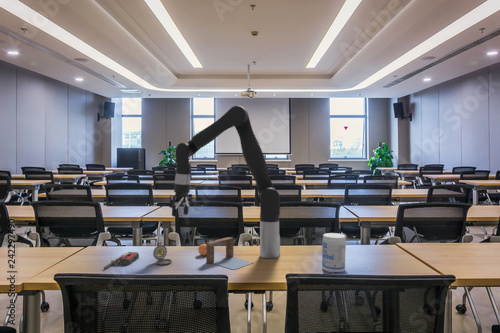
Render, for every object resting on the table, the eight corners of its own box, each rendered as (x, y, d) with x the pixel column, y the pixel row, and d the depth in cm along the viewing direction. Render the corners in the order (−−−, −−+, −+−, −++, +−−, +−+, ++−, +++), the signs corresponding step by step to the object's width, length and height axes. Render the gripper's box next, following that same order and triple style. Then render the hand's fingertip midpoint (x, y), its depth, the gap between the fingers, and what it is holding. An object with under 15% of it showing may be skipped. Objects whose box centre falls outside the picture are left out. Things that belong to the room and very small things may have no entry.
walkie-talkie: (122, 257, 163) (101, 271, 143) (122, 248, 163) (101, 260, 143) (140, 258, 162) (122, 271, 142) (140, 248, 162) (122, 261, 142)
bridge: (206, 262, 153) (206, 242, 153) (228, 255, 164) (228, 237, 164) (210, 264, 151) (210, 243, 151) (233, 257, 162) (233, 238, 162)
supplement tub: (318, 270, 143) (318, 235, 143) (328, 264, 150) (328, 231, 150) (339, 275, 137) (339, 238, 137) (349, 269, 144) (349, 234, 144)
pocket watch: (167, 265, 149) (167, 243, 149) (150, 264, 150) (150, 242, 150) (175, 260, 157) (175, 239, 157) (158, 259, 158) (158, 238, 158)
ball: (204, 253, 169) (204, 242, 169) (211, 255, 166) (211, 243, 166) (195, 255, 165) (195, 244, 165) (203, 257, 162) (203, 246, 161)
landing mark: (233, 257, 161) (233, 257, 161) (253, 263, 153) (253, 262, 153) (212, 263, 152) (212, 263, 152) (233, 270, 143) (233, 269, 143)
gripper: (178, 184, 160) (176, 218, 160) (197, 183, 172) (194, 215, 173) (166, 182, 164) (164, 215, 164) (185, 181, 176) (183, 212, 177)
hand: (180, 215), depth 168 cm, fingers open, 8 cm apart
